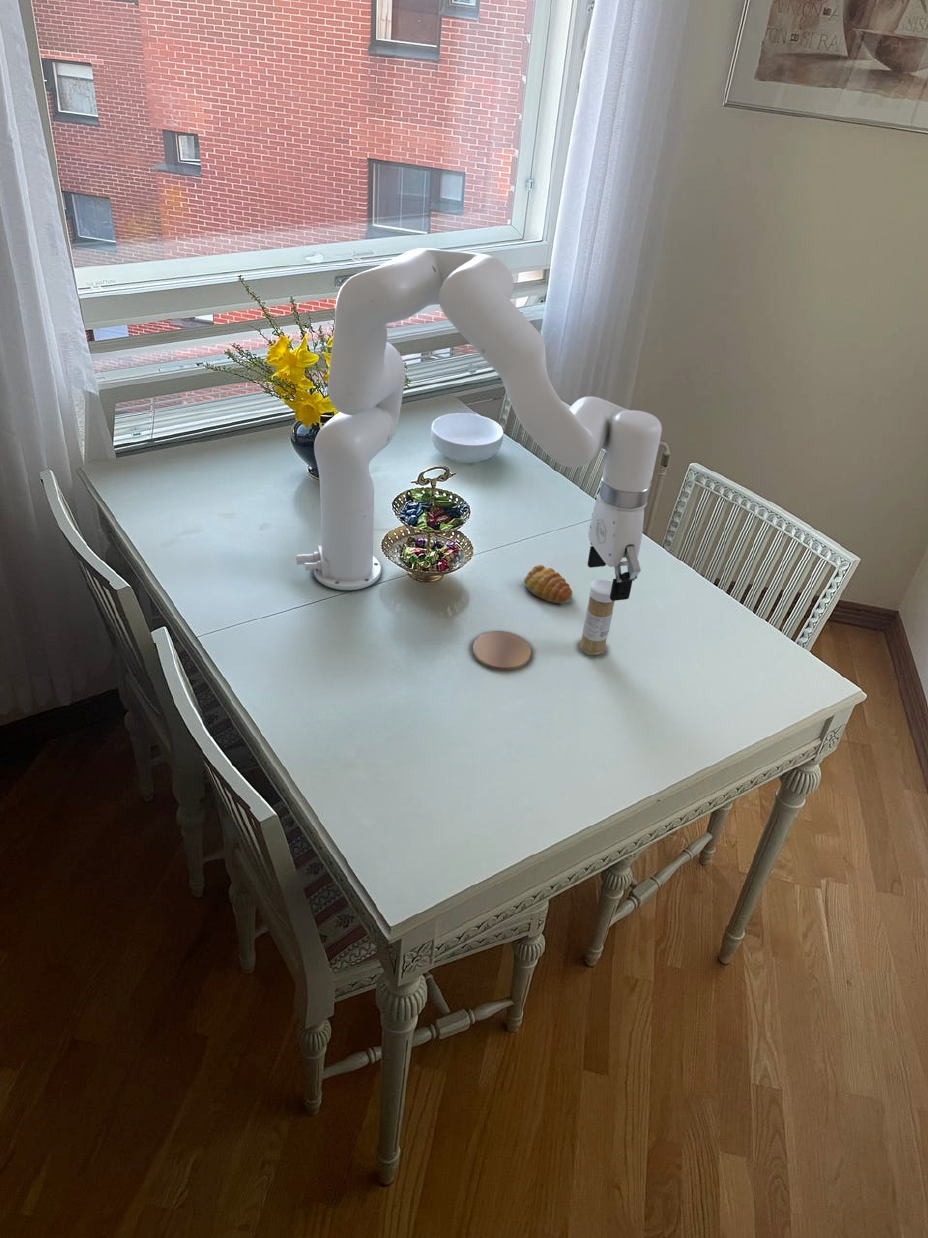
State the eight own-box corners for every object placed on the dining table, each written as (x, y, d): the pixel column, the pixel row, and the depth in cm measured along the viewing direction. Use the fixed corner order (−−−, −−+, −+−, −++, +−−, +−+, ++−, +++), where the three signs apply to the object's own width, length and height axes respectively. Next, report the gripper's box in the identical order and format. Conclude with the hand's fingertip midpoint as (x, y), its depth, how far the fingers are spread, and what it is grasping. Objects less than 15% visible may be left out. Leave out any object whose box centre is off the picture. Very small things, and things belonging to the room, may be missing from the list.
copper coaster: (482, 673, 155) (482, 670, 154) (466, 636, 162) (466, 634, 162) (538, 666, 157) (538, 663, 157) (520, 630, 165) (520, 628, 165)
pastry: (579, 597, 175) (582, 580, 172) (556, 611, 171) (558, 594, 168) (542, 575, 180) (544, 558, 177) (518, 587, 176) (521, 571, 173)
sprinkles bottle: (596, 638, 165) (608, 575, 157) (610, 653, 162) (623, 590, 154) (574, 643, 163) (585, 580, 155) (587, 659, 160) (600, 596, 152)
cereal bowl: (502, 475, 211) (505, 446, 206) (429, 470, 210) (430, 442, 205) (499, 441, 224) (502, 414, 220) (430, 437, 223) (431, 409, 219)
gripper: (581, 466, 149) (568, 556, 159) (624, 521, 136) (606, 615, 146) (624, 463, 151) (608, 552, 161) (670, 517, 138) (649, 610, 148)
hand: (607, 582), depth 154 cm, fingers open, 9 cm apart
